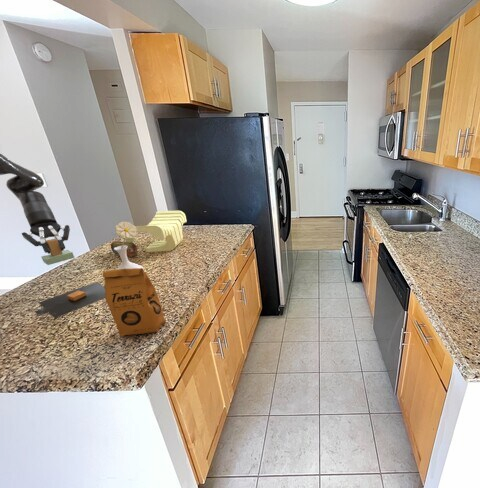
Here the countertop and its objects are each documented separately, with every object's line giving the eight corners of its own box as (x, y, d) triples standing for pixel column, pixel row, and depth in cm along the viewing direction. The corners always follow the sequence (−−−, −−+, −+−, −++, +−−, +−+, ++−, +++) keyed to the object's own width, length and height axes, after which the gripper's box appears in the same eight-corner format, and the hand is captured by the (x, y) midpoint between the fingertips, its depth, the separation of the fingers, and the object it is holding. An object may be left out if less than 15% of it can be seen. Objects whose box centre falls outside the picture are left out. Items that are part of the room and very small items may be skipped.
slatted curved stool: (169, 256, 138) (161, 225, 132) (137, 258, 137) (127, 226, 130) (190, 237, 166) (184, 210, 159) (163, 238, 164) (157, 211, 158)
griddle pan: (46, 325, 87) (45, 322, 87) (30, 308, 96) (29, 305, 96) (123, 293, 106) (123, 290, 105) (104, 281, 114) (103, 279, 114)
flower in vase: (116, 283, 112) (98, 229, 103) (111, 275, 120) (93, 223, 110) (151, 273, 121) (136, 222, 112) (144, 265, 128) (130, 217, 119)
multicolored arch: (112, 255, 140) (107, 240, 137) (118, 253, 143) (113, 238, 140) (135, 258, 137) (130, 243, 134) (140, 255, 140) (136, 241, 137)
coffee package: (157, 336, 82) (138, 275, 74) (114, 340, 81) (90, 278, 72) (170, 316, 91) (154, 260, 83) (132, 320, 90) (112, 263, 82)
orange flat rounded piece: (74, 300, 98) (73, 297, 98) (67, 298, 100) (66, 295, 99) (86, 295, 102) (85, 292, 101) (79, 293, 103) (78, 290, 103)
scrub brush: (47, 265, 99) (38, 244, 96) (43, 262, 102) (34, 242, 99) (74, 257, 106) (67, 238, 103) (70, 255, 108) (62, 236, 105)
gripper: (10, 213, 96) (27, 252, 93) (62, 206, 106) (78, 241, 103) (16, 224, 101) (32, 261, 99) (65, 217, 111) (80, 250, 109)
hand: (55, 251), depth 101 cm, fingers closed on scrub brush, 3 cm apart
